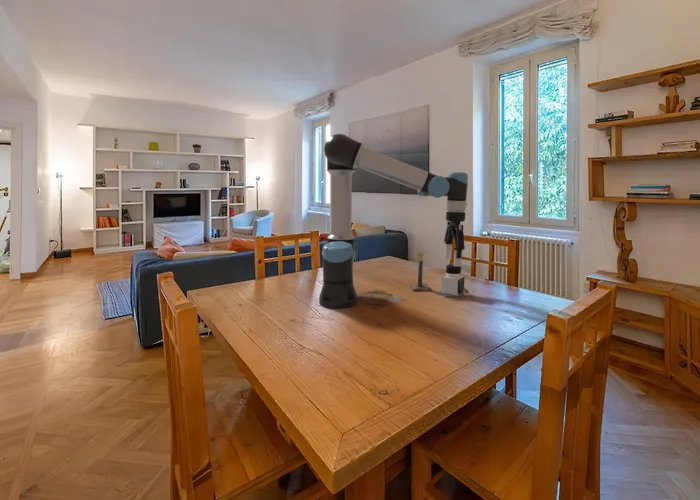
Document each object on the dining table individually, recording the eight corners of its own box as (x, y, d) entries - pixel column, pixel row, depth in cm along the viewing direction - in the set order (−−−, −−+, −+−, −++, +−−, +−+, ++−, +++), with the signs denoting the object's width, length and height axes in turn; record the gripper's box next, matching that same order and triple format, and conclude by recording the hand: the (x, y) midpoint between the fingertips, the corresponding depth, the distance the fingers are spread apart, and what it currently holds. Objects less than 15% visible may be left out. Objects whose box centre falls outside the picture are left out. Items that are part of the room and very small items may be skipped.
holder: (413, 293, 162) (414, 264, 160) (408, 284, 176) (408, 257, 173) (467, 292, 162) (468, 263, 160) (457, 283, 176) (458, 257, 174)
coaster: (445, 297, 156) (445, 295, 156) (439, 290, 165) (439, 289, 164) (466, 296, 156) (466, 295, 156) (460, 290, 165) (460, 289, 165)
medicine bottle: (457, 296, 155) (458, 267, 153) (441, 293, 159) (442, 265, 157) (464, 292, 161) (465, 264, 159) (447, 289, 165) (448, 262, 163)
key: (422, 262, 163) (422, 253, 162) (416, 261, 164) (416, 252, 163) (426, 255, 176) (426, 247, 176) (420, 255, 177) (421, 247, 177)
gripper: (475, 213, 142) (471, 269, 146) (455, 209, 167) (452, 256, 170) (455, 213, 142) (452, 269, 146) (438, 208, 166) (436, 256, 170)
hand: (452, 262), depth 158 cm, fingers open, 13 cm apart
